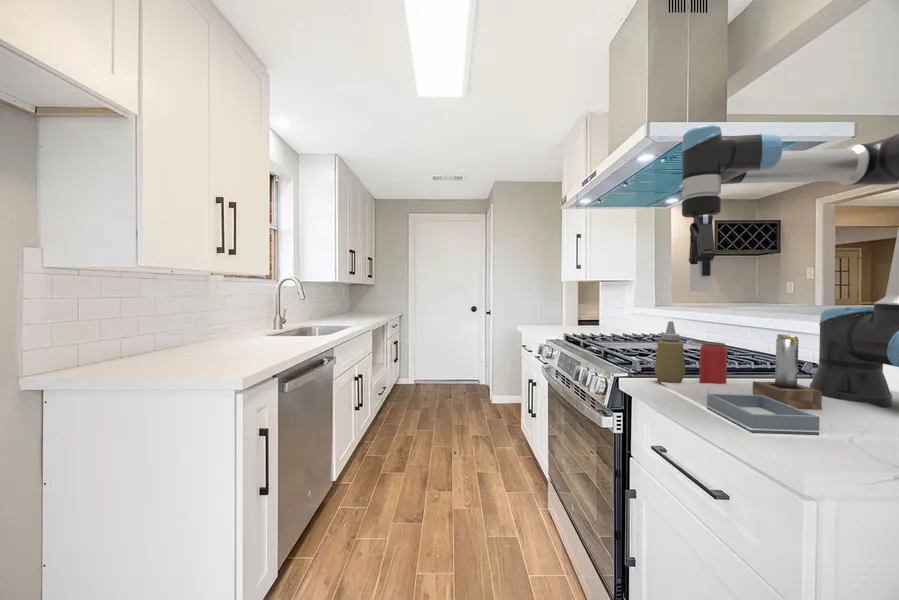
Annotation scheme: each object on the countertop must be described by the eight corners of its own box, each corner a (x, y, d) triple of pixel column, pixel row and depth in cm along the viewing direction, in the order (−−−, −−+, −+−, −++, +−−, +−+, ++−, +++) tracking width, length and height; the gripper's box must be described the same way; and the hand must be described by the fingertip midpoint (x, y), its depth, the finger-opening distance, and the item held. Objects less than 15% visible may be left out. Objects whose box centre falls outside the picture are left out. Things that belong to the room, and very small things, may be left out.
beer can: (730, 387, 116) (731, 345, 116) (704, 386, 118) (705, 344, 117) (720, 382, 123) (721, 342, 123) (695, 381, 124) (696, 341, 124)
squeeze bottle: (666, 379, 127) (668, 320, 126) (691, 385, 119) (693, 322, 119) (647, 381, 123) (649, 320, 123) (672, 387, 116) (673, 323, 115)
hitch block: (791, 402, 101) (791, 382, 101) (821, 414, 92) (822, 391, 92) (752, 401, 102) (752, 381, 102) (778, 412, 93) (779, 390, 93)
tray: (762, 410, 95) (762, 395, 95) (818, 435, 79) (819, 416, 79) (706, 408, 96) (707, 393, 95) (752, 433, 80) (752, 414, 80)
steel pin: (784, 400, 100) (787, 333, 99) (802, 406, 94) (804, 336, 94) (767, 399, 100) (769, 333, 100) (783, 406, 95) (786, 336, 94)
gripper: (676, 208, 108) (676, 290, 108) (688, 187, 85) (688, 292, 85) (710, 205, 105) (710, 290, 105) (732, 183, 82) (731, 291, 82)
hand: (700, 291), depth 95 cm, fingers open, 13 cm apart
